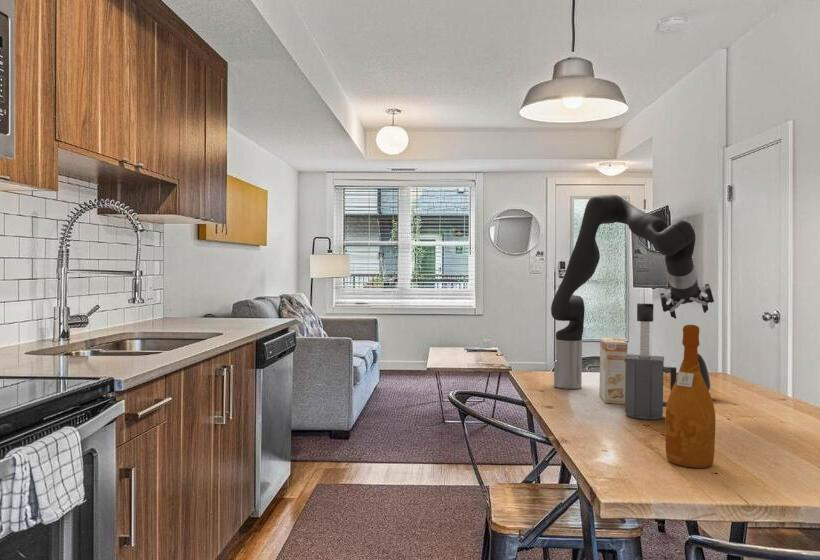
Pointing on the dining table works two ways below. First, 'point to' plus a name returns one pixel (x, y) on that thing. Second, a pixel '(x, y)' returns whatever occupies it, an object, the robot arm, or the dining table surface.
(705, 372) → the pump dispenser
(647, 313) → the plunger
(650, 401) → the press body
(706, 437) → the wine bottle
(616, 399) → the coffeecake box
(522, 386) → the dining table surface
